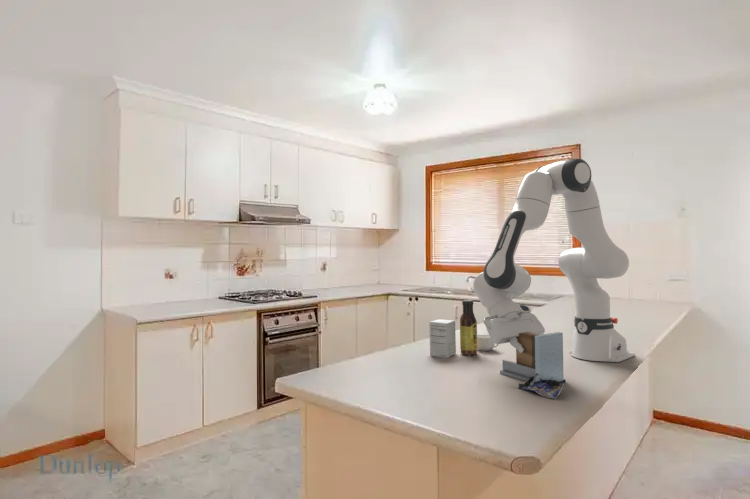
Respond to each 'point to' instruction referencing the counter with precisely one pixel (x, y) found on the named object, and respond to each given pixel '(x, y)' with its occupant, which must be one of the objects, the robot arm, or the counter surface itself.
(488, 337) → the teacup
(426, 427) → the counter surface
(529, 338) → the tan wooden block
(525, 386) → the snack package
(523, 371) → the track
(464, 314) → the sauce bottle
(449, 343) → the supplement box
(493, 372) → the counter surface
